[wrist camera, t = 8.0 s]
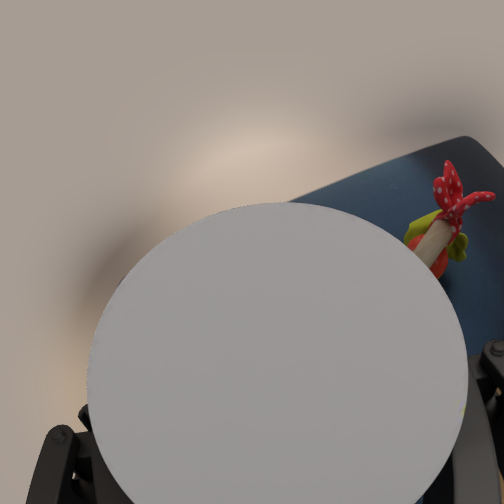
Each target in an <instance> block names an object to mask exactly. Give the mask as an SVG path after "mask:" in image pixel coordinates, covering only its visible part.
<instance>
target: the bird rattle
mask: <svg viewBox="0 0 504 504" xmlns="http://www.w3.org/2000/svg"><path fill="white" fill-rule="evenodd" d="M433 191H434V198H435V200H436V202H437V203H438V205H439V207H440V208H441V209H440V210H437V211H435V212H432V213H430V214H428V215H426V216H424V217H422V218H420V219H418V220H416V221H414V222H412V223H410V224H409V230H408V231H407V233H406V234H405V235H404V245H405V246H406V247H408V248H409V249H410V250H411V251H412V252H413V253H414V254H415V255H416V256H417V257H418V258H420V259H421V261H422V262H423V263H424V264H425V265H426V266H427V267H428V268H429V270H430V271H431V272H432V273H433V275H434V276H435V277H436V279H439V278H440V277H441V276H442V274H443V273H444V271H445V269H446V267H447V263H448V259H449V258H451V259H453V260H455V261H457V262H461V261H463V260H464V259H466V254H465V251H464V250H465V249H466V247H467V244H468V238H467V236H466V235H465V234H463V233H460V231H461V228H462V224H463V221H462V218H461V216H462V215H463V213H464V212H465V211H466V210H467V209H468V208H469V207H471V206H472V205H474V204H477V203H480V202H482V201H492V200H494V199H495V194H494V193H492V192H474V193H472V194H470V195H468V196H467V197H465V198H464V199H463V195H462V194H463V188H462V184H461V182H460V180H459V177H458V175H457V172H456V170H455V168H454V166H453V165H452V163H451V162H450V161H448V160H446V161H445V163H444V176H443V177H438V178H436V179H435V180H434V182H433Z"/></svg>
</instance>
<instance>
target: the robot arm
mask: <svg viewBox="0 0 504 504" xmlns="http://www.w3.org/2000/svg"><path fill="white" fill-rule="evenodd" d="M467 362H468V392H467V401H466V407H465V412H464V417H463V421H462V424H461V428H460V431H459V434H458V437H457V439H456V442H455V444H454V446H453V449H452V451H451V453H450V455H449V457H448V459H447V461H446V463H445V464H444V466H443V468H442V469H441V471H440V473H439V474H438V476H437V477H436V478H435V480H434V481H433V483H432V484H431V485H430V486H429V488H428V489H427V490H426V491H425V493H424V498H423V504H502V499H501V487H500V478H499V471H500V473H501V476H502V478H503V480H504V341H501V340H491V341H489V342H487V343H486V344H485V345H484V347H483V351H482V353H481V354H477V355H472V356H468V357H467ZM497 388H499V389H500V391H501V394H500V395H499V394H498V393H497V392H496V390H497ZM78 418H79V419H80V421H81V422H82V423H83V424H84V426H85V427H86V428H87V430H88V431H87V432H80V433H74V431H73V430H72V429H71V428H70V427H69V426H67V425H57V426H55V427H53V428H52V429H51V430H50V431H49V432H48V434H47V435H46V438H45V441H44V443H43V446H42V449H41V452H40V455H39V458H38V461H37V464H36V468H35V471H34V474H33V478H32V481H31V485H30V488H29V492H28V496H27V500H26V504H134V503H133V501H132V500H131V499H130V498H129V497H128V496H127V495H126V493H125V492H124V491H123V490H122V488H121V487H120V486H119V484H118V483H117V481H116V480H115V478H114V477H113V475H112V474H111V472H110V470H109V469H108V467H107V465H106V463H105V461H104V459H103V457H102V455H101V452H100V450H99V447H98V445H97V442H96V439H95V436H94V433H93V429H92V426H91V421H90V416H89V410H88V404H86V405H85V406H83V407H82V409H81V410H80V412H79V415H78ZM498 468H499V470H498ZM73 472H74V473H75V478H74V479H72V477H73Z"/></svg>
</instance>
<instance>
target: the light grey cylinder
mask: <svg viewBox="0 0 504 504" xmlns="http://www.w3.org/2000/svg"><path fill="white" fill-rule="evenodd" d="M467 392H468V362H467V353H466V347H465V342H464V338H463V334H462V330H461V327H460V324H459V321H458V318H457V315H456V313H455V311H454V308H453V306H452V304H451V302H450V300H449V298H448V296H447V294H446V293H445V291H444V289H443V288H442V286H441V285H440V283H439V282H438V280H437V279H436V277H435V276H434V275H433V273H432V272H431V271H430V270H429V268H428V267H427V266H426V265H425V264H424V263H423V262H422V261H421V259H420V258H418V257H417V256H416V255H415V254H414V253H413V252H412V251H411V250H410V249H409V248H408V247H406V246H405V245H404V244H403V243H402V242H400V241H399V240H398V239H396V238H395V237H393V236H392V235H391V234H389V233H387V232H386V231H384V230H382V229H381V228H379V227H377V226H375V225H373V224H372V223H370V222H368V221H365V220H363V219H361V218H358V217H356V216H354V215H351V214H348V213H345V212H342V211H339V210H335V209H331V208H327V207H322V206H317V205H311V204H303V203H263V204H254V205H247V206H243V207H238V208H233V209H230V210H226V211H223V212H219V213H217V214H214V215H211V216H208V217H206V218H203V219H201V220H199V221H197V222H194V223H192V224H190V225H188V226H186V227H185V228H183V229H181V230H179V231H178V232H176V233H174V234H173V235H171V236H170V237H168V238H167V239H165V240H164V241H162V242H161V243H160V244H158V245H157V246H156V247H155V248H154V249H152V250H151V251H150V252H149V253H148V254H147V255H146V256H144V257H143V258H142V259H141V260H140V261H139V262H138V263H137V264H136V265H135V267H134V268H133V269H132V270H131V271H130V272H129V273H128V275H127V276H126V277H125V278H124V280H123V281H122V282H121V284H120V285H119V286H118V288H117V289H116V291H115V292H114V294H113V296H112V297H111V299H110V301H109V303H108V304H107V306H106V308H105V310H104V312H103V314H102V317H101V319H100V321H99V324H98V327H97V329H96V332H95V335H94V339H93V342H92V346H91V351H90V356H89V363H88V370H87V401H88V410H89V416H90V421H91V426H92V429H93V433H94V436H95V439H96V442H97V445H98V447H99V450H100V452H101V455H102V457H103V459H104V461H105V463H106V465H107V467H108V469H109V470H110V472H111V474H112V475H113V477H114V478H115V480H116V481H117V483H118V484H119V486H120V487H121V488H122V490H123V491H124V492H125V493H126V495H127V496H128V497H129V498H130V499H131V500H132V501H133V503H134V504H414V503H415V502H416V501H417V500H418V499H419V498H420V497H421V496H422V495H423V494H424V493H425V491H426V490H427V489H428V488H429V486H430V485H431V484H432V483H433V481H434V480H435V478H436V477H437V476H438V474H439V473H440V471H441V469H442V468H443V466H444V464H445V463H446V461H447V459H448V457H449V455H450V453H451V451H452V449H453V446H454V444H455V442H456V439H457V437H458V434H459V431H460V428H461V424H462V421H463V417H464V412H465V407H466V401H467Z"/></svg>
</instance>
